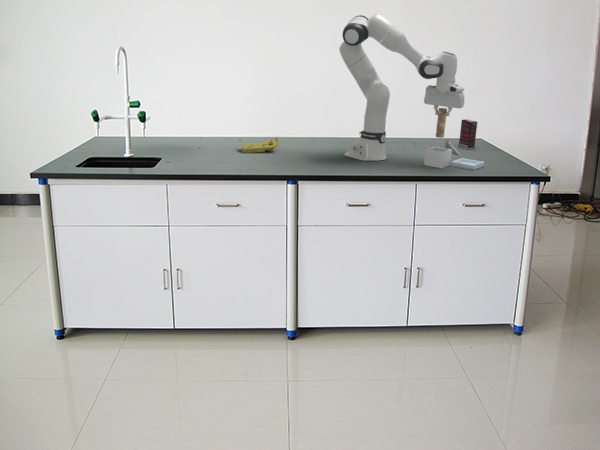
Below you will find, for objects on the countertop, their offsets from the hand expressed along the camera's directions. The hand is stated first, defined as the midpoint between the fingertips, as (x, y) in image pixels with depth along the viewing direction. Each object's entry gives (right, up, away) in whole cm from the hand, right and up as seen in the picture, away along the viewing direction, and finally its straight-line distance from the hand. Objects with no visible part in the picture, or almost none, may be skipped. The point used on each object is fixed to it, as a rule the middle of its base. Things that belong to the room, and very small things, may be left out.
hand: (442, 115), depth 297 cm
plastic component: (-92, -14, +29) cm, 97 cm away
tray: (+14, -24, +7) cm, 29 cm away
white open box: (-1, -24, +8) cm, 25 cm away
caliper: (+15, -14, +39) cm, 44 cm away
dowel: (0, -10, +4) cm, 11 cm away
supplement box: (+26, -10, +52) cm, 59 cm away
